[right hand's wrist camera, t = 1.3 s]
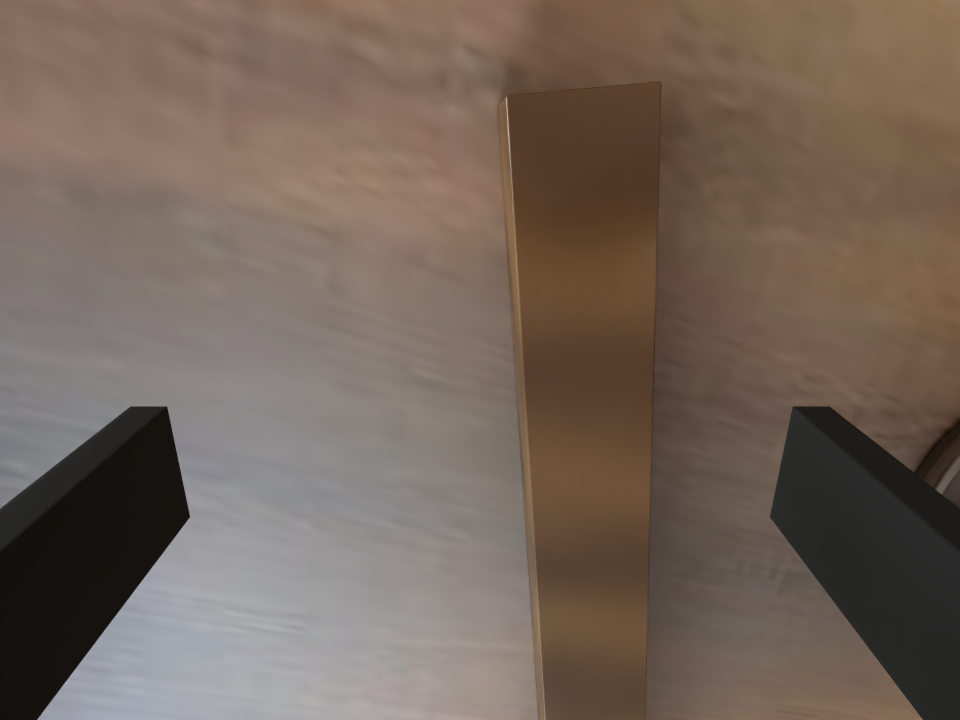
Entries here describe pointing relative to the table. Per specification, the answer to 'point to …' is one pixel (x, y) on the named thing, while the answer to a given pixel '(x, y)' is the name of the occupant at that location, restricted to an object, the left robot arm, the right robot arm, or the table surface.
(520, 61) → the table surface
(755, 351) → the table surface
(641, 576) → the bar
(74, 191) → the table surface
